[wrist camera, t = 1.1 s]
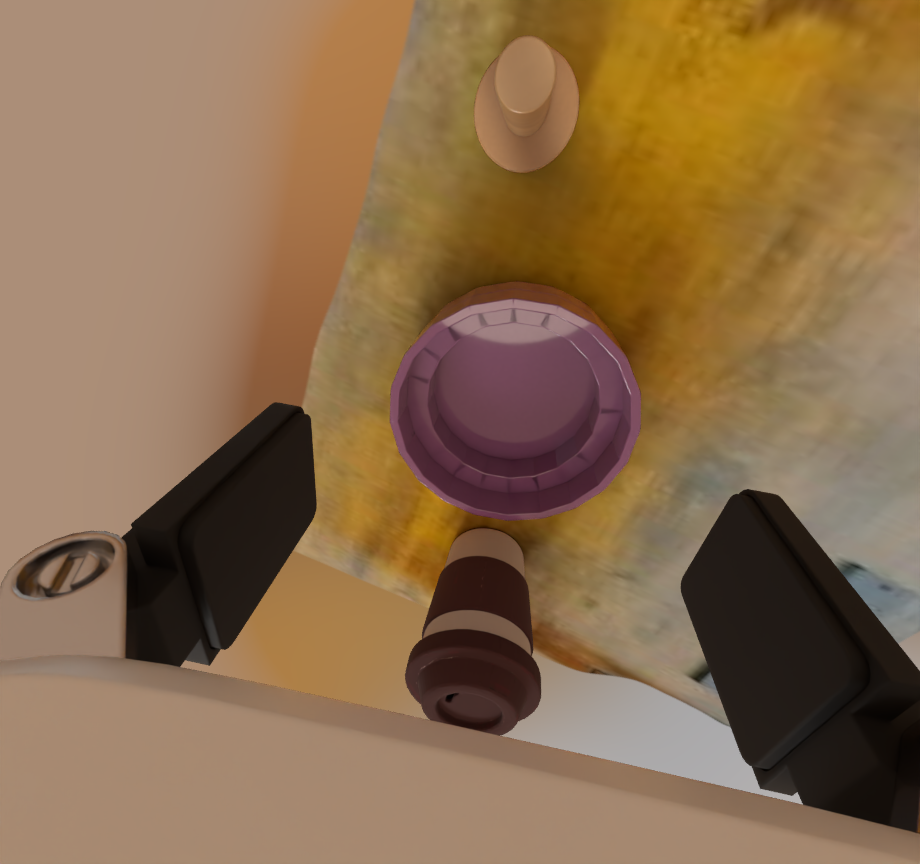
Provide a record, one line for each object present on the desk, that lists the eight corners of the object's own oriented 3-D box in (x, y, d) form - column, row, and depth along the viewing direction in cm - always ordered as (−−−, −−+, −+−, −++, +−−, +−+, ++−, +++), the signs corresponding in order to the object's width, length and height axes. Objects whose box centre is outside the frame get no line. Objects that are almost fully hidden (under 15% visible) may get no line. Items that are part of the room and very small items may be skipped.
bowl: (572, 233, 27) (583, 244, 22) (651, 433, 33) (673, 478, 28) (372, 343, 33) (342, 372, 28) (470, 496, 39) (462, 543, 34)
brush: (550, 33, 23) (567, -79, 13) (588, 140, 25) (625, 110, 15) (462, 98, 24) (422, 40, 15) (504, 191, 26) (491, 194, 17)
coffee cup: (554, 572, 42) (566, 741, 29) (469, 597, 46) (446, 757, 33) (507, 501, 38) (496, 658, 26) (419, 534, 42) (371, 686, 29)
